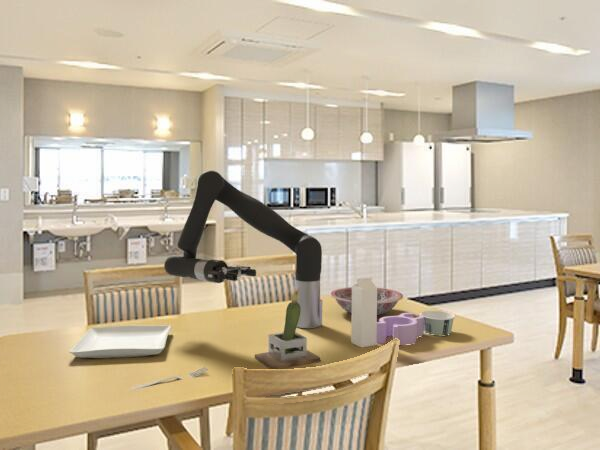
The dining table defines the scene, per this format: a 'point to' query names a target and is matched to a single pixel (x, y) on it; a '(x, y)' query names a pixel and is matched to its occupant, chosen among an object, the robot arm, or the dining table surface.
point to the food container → (438, 322)
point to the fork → (171, 377)
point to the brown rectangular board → (276, 364)
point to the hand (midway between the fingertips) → (246, 275)
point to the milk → (364, 313)
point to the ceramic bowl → (384, 299)
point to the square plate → (122, 341)
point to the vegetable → (291, 319)
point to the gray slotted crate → (281, 345)
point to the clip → (400, 328)
